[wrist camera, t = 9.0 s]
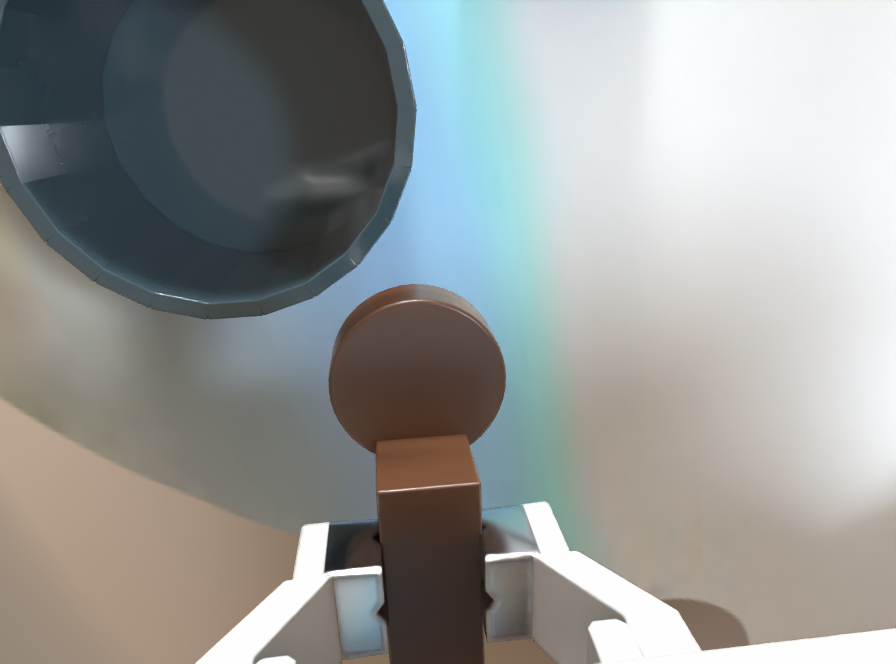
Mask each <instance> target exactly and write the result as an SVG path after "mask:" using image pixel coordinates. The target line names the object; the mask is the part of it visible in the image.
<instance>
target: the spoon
mask: <svg viewBox="0 0 896 664" xmlns="http://www.w3.org/2000/svg"><path fill="white" fill-rule="evenodd" d="M328 381H329V395H330V401H331V404H332V407H333V410H334V413H335V415H336V417H337V419H338V421H339V422H340V424H341V425H342V427H343V428H344V430H345V431H346V432H347V433H348V434H349V435H350V436H351V438H352V439H354V440H355V441H356V442H357V443H358V444H359V445H361V446H362V447H364V448H365V449H367V450H368V451H370V452H372V453H374V454H376V499H377V511H378V523H379V536H380V545H381V548H382V559H383V569H384V594H385V596H386V604H387V617H388V646H389V658H390V664H485V656H484V625H483V621H482V616H481V592H480V586H481V583H482V581H483V577H482V573H481V569H480V551H479V535H480V534H481V533H482V505H481V482H480V479H479V475H478V472H477V468H476V465H475V461H474V458H473V455H472V451H471V448H470V445H471V444H472V443H474V442H475V441H476V440H477V439H478V438H479V437H480V436H482V434H483V433H484V432H485V431H486V430H487V429H488V428H489V426H490V425H491V423H492V422H493V420H494V419H495V417H496V415H497V413H498V411H499V409H500V406H501V404H502V401H503V397H504V392H505V386H506V370H505V364H504V359H503V355H502V353H501V350H500V347H499V345H498V343H497V342H496V340H495V338H494V336H493V334H492V332H491V330H490V328H489V327H488V325H487V323H486V321H485V320H484V318H483V317H482V316H481V314H480V313H479V312H478V311H477V310H476V309H475V308H474V307H473V306H472V305H471V304H470V303H469V302H467V301H466V300H465V299H464V298H462V297H460V296H458V295H457V294H455V293H453V292H451V291H448V290H446V289H443V288H439V287H435V286H430V285H422V284H411V285H403V286H397V287H393V288H389V289H387V290H384V291H382V292H379V293H377V294H375V295H373V296H372V297H370V298H368V299H367V300H365V301H364V302H363V303H361V304H360V305H359V306H358V307H357V308H356V309H355V310H354V311H353V312H352V313H351V314H350V315H349V317H348V318H347V319H346V320H345V322H344V323H343V325H342V327H341V329H340V330H339V333H338V335H337V337H336V340H335V344H334V347H333V352H332V358H331V364H330V371H329V380H328Z"/></svg>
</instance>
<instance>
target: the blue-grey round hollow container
mask: <svg viewBox="0 0 896 664" xmlns="http://www.w3.org/2000/svg"><path fill="white" fill-rule="evenodd" d="M416 111H417V109H416V101H415V96H414V91H413V86H412V80H411V75H410V70H409V65H408V60H407V54H406V49H405V45H403V40H402V38H401V36H400V34H399V32H398V30H397V28H396V26H395V24H394V22H393V20H392V17H391V15H390V13H389V11H388V9H387V7H386V5H385V3H384V1H383V0H0V179H1V181H2V184H3V186H4V188H5V189H7V190H6V192H7V193H8V194H9V196H10V197H11V198H12V199H13V201H14V202H15V203H16V205H17V206H18V207H19V209H20V210H21V211H22V213H23V214H24V215H25V217H26V218H27V219H28V221H29V222H30V223H31V225H32V226H33V227H34V229H35V230H36V231H37V233H38V234H39V235H40V237H41V238H42V239H43V240H44V241H45V242H46V243H47V244H48V245H49V246H50V247H52V248H53V249H54V250H55V251H56V252H58V253H59V254H60V255H61V256H63V257H64V258H65V259H66V260H68V261H69V262H70V263H71V264H72V265H74V266H75V267H76V268H77V269H79V270H80V271H81V272H82V273H84V274H85V275H86V276H87V277H89V278H90V279H91V280H92V281H94V282H95V281H96V283H97V284H99V285H101V286H103V287H105V288H108V289H110V290H112V291H114V292H116V293H118V294H120V295H122V296H125V297H127V298H129V299H131V300H133V301H135V302H137V303H139V304H142V305H144V306H146V307H148V308H151V309H154V310H159V311H165V312H170V313H175V314H180V315H185V316H191V317H196V318H201V319H224V318H238V317H252V316H262V315H263V314H264V315H267V314H270V313H273V312H275V311H278V310H281V309H284V308H287V307H289V306H292V305H295V304H298V303H300V302H303V301H306V300H309V299H312V298H313V297H314V296H317V295H319V294H320V293H322V292H323V291H324V290H326V289H327V288H328V287H330V286H331V285H332V284H334V283H335V282H337V281H338V280H339V279H341V278H342V277H343V276H345V275H346V274H348V273H349V272H350V271H352V270H353V269H354V268H356V267H357V266H358V265H359V264H360V263H361V262H362V260H363V259H364V258H365V256H366V255H367V254H368V252H369V251H370V250H371V248H372V247H373V246H374V244H375V243H376V242H377V241H378V239H379V238H380V237H381V235H382V234H383V233H384V231H385V230H386V229H387V227H388V226H389V225H390V223H391V221H392V220H393V217H394V214H395V212H396V209H397V206H398V204H399V201H400V198H401V196H402V193H403V190H404V188H405V185H406V182H407V180H408V177H409V174H410V172H411V168H412V161H413V148H414V136H415V123H416Z"/></svg>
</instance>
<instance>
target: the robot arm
mask: <svg viewBox="0 0 896 664" xmlns="http://www.w3.org/2000/svg"><path fill="white" fill-rule="evenodd" d="M479 551H480V569H481V573H482V577H483V581H482V583H481V586H480V592H481V616H482V621H483V625H484V630H485V634H486V639H487V642H498V641H510V640H521V639H532V638H533V641H534V642H535V643H536V644H537V645H538V646H539V647H540V648H541V649H542V650H543V651H544V652H545V653H546V654H547V655H548V656H549V657H550V658H551V659H552V660H553V661H554V662H556V664H896V628H893V629H885V630H876V631H868V632H859V633H851V634H842V635H833V636H825V637H816V638H808V639H799V640H791V641H782V642H774V643H765V644H756V645H748V646H739V647H731V648H722V649H714V650H705V651H702V650H701V649H700V647H699V645H698V644H697V642H696V640H695V639H694V637H693V636H692V634H691V632H690V631H689V629H688V627H687V625H686V624H685V622H684V620H683V619H682V617H681V615H680V614H679V612H678V610H676V609H674V608H672V607H671V606H669V605H667V604H666V603H664V602H662V601H661V600H659V599H657V598H656V597H654V596H652V595H651V594H649V593H647V592H646V591H644V590H642V589H640V588H639V587H637V586H635V585H634V584H632V583H630V582H629V581H627V580H625V579H624V578H622V577H620V576H619V575H617V574H615V573H614V572H612V571H610V570H609V569H607V568H605V567H603V566H602V565H600V564H598V563H597V562H595V561H593V560H592V559H590V558H588V557H587V556H585V555H583V554H582V553H580V552H578V551H571V552H570V550H569V548H568V545H567V543H566V541H565V539H564V537H563V534H562V532H561V530H560V528H559V525H558V523H557V521H556V519H555V517H554V514H553V512H552V510H551V508H550V505H549V503H547V502H546V501H543V502H536V503H528V504H521V505H516V506H507V507H498V508H489V509H482V533H481V534H480V535H479ZM388 653H389V647H388V617H387V604H386V596H385V594H384V569H383V559H382V548H381V545H380V536H379V523H378V519H366V520H352V521H339V522H330V523H329V522H325V523H315V524H305V525H303V527H302V528H301V533H300V539H299V544H298V550H297V555H296V561H295V567H294V573H293V578H292V580H288V581H284V582H283V583H282V584H281V585H280V586H279V587H278V588H276V589H275V590H274V591H273V592H272V593H271V594H270V595H269V596H268V597H267V598H265V599H264V600H263V601H262V602H261V603H260V604H259V605H258V606H257V607H256V608H255V609H254V610H253V611H251V612H250V613H249V614H248V615H247V616H246V617H245V618H244V619H243V620H242V621H241V622H239V623H238V624H237V625H236V626H235V627H234V628H233V629H232V630H231V631H230V632H229V633H228V634H227V635H225V636H224V637H223V638H222V639H221V640H220V641H219V642H218V643H217V644H216V645H214V647H212V648H211V649H210V650H209V651H208V652H207V653H206V654H205V655H204V656H203V657H202V658H200V659H199V660H198V661H197V662H196V663H195V664H341V663H342V660H346V659H354V658H360V657H368V656H375V655H382V654H388Z"/></svg>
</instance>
